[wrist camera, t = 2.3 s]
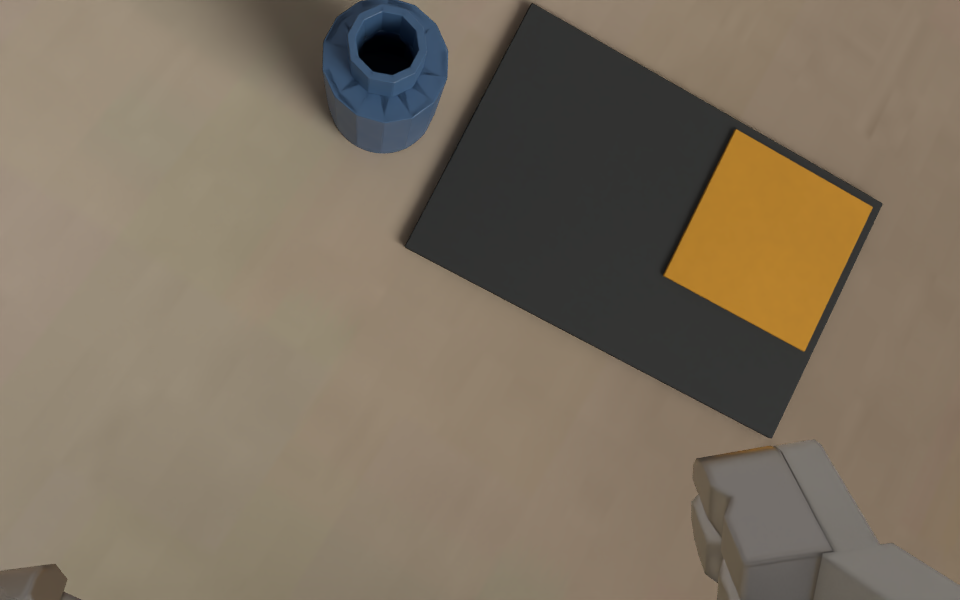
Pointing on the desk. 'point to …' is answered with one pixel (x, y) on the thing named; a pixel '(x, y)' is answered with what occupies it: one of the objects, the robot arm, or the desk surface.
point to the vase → (384, 73)
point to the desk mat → (645, 222)
